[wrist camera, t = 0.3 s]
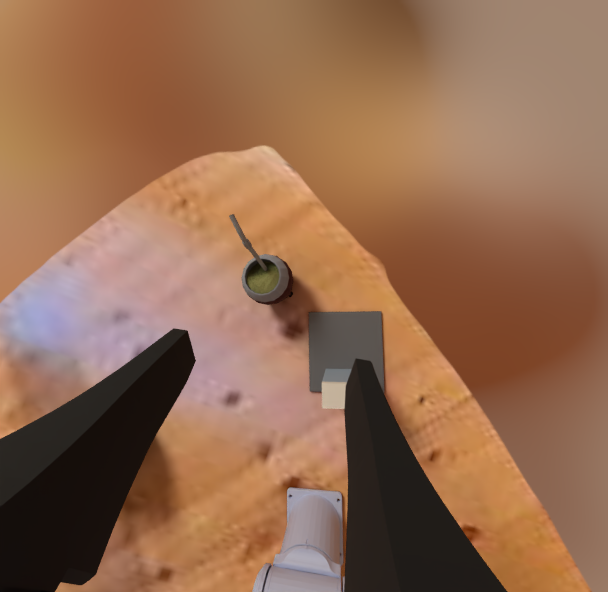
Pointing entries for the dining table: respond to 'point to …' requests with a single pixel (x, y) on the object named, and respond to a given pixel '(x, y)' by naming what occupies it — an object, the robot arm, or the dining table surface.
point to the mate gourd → (264, 274)
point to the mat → (344, 343)
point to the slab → (334, 388)
